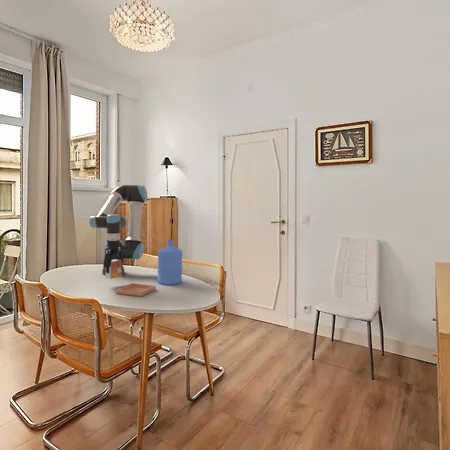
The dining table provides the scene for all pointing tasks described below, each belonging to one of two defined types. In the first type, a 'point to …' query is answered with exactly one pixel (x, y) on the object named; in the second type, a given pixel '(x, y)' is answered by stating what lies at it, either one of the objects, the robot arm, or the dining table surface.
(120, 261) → the small box
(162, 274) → the water jug
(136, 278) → the dining table surface
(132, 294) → the holder
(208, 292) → the dining table surface
